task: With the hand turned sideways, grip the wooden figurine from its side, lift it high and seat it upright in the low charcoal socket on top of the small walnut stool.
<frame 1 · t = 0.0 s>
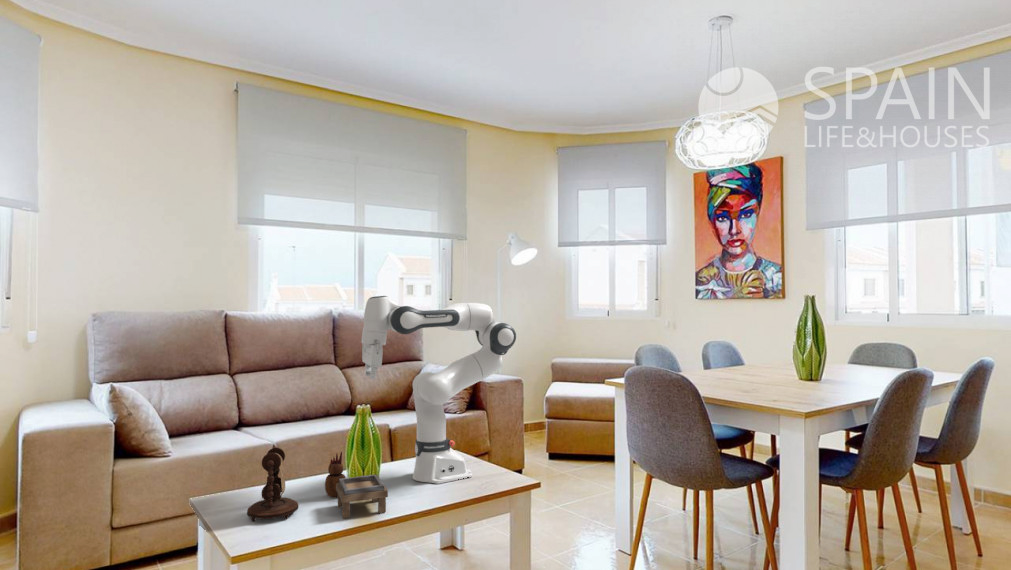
hand: (370, 377, 210), 39 cm above the table, tool pointing down, fingers open, 8 cm apart
wooden figurine: (335, 497, 196), on the table
dark brown tall figurine: (273, 515, 179), on the table
stool: (361, 509, 183), on the table
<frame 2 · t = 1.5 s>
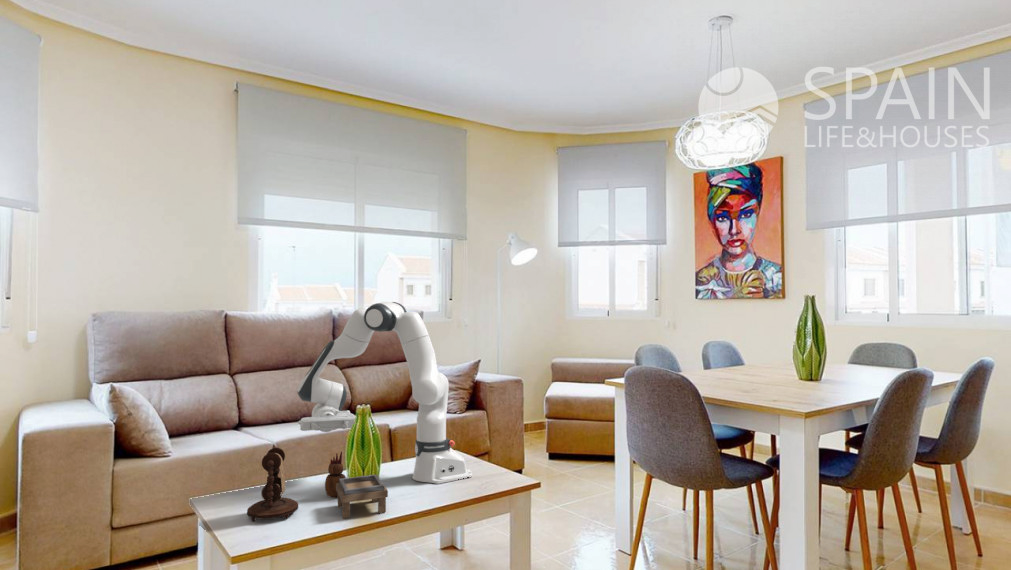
hand: (331, 427, 207), 21 cm above the table, tool horizontal, fingers open, 8 cm apart
nothing on the table moved.
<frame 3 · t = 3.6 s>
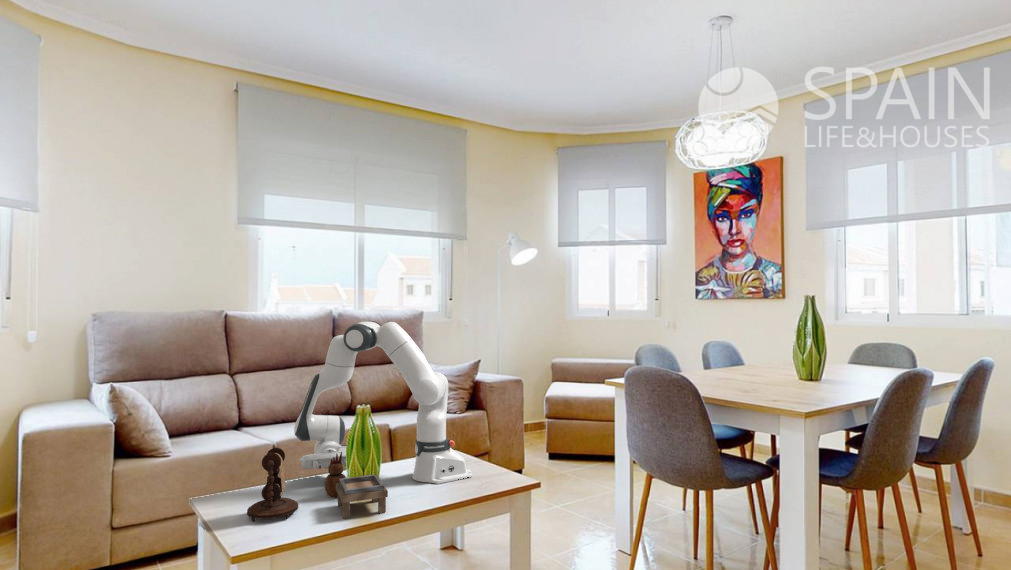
hand: (333, 464, 204), 8 cm above the table, tool horizontal, fingers open, 8 cm apart
nothing on the table moved.
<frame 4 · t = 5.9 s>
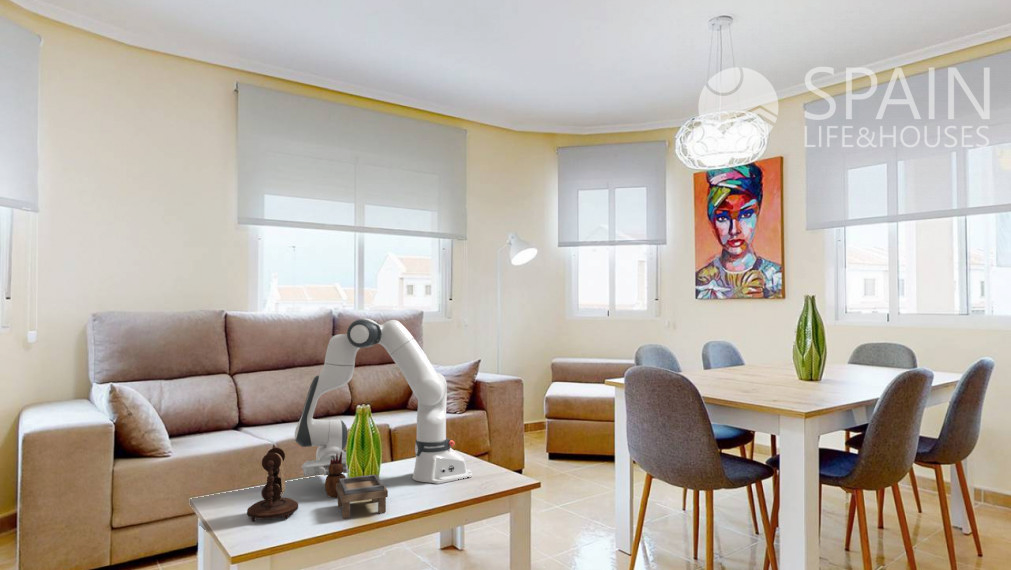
hand: (336, 471, 195), 9 cm above the table, tool horizontal, fingers closed on wooden figurine, 5 cm apart
wooden figurine: (335, 496, 196), on the table, touching gripper
everything else where it was.
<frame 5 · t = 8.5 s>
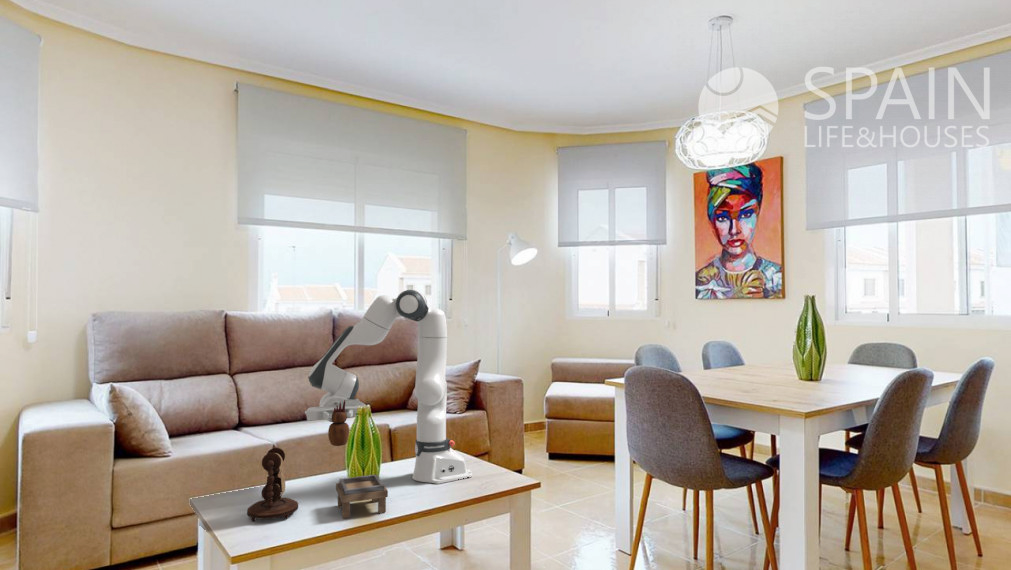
hand: (339, 415, 195), 28 cm above the table, tool horizontal, fingers closed on wooden figurine, 5 cm apart
wooden figurine: (338, 445, 195), point 17 cm above the table, touching gripper
everything else where it was.
when the fingers open (22 cm above the table, at t = 11.4 s): wooden figurine drops 5 cm, resting on stool.
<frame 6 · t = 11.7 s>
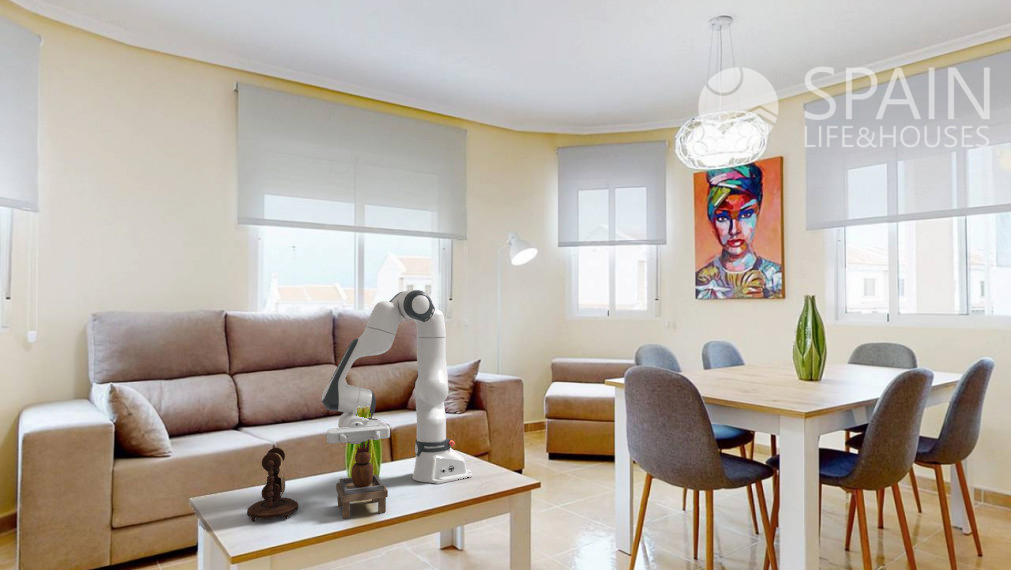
hand: (362, 438, 183), 22 cm above the table, tool horizontal, fingers open, 8 cm apart
wooden figurine: (362, 486, 184), point 7 cm above the table, touching stool
everything else where it was.
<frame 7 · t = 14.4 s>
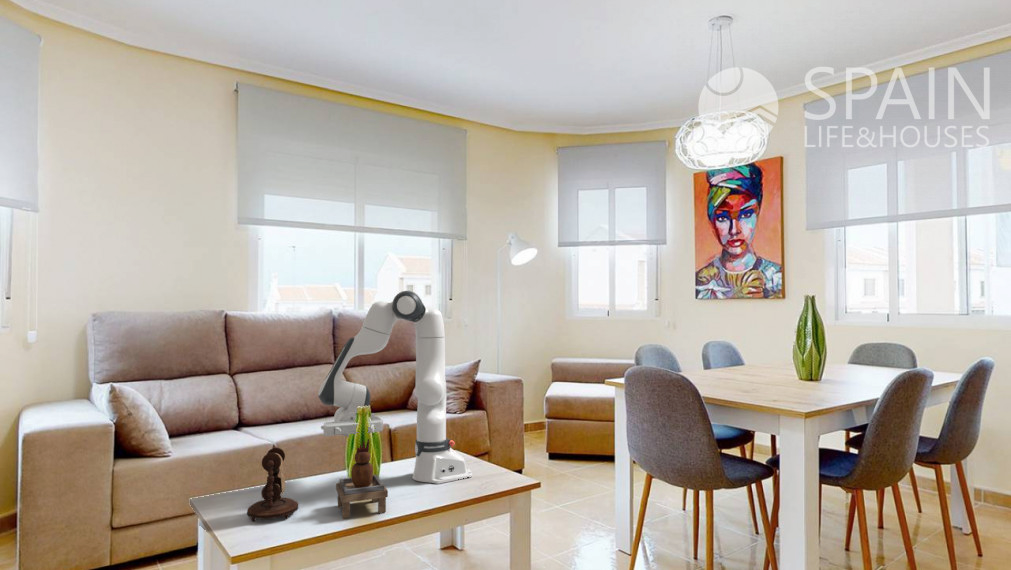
hand: (356, 431, 194), 23 cm above the table, tool horizontal, fingers open, 8 cm apart
nothing on the table moved.
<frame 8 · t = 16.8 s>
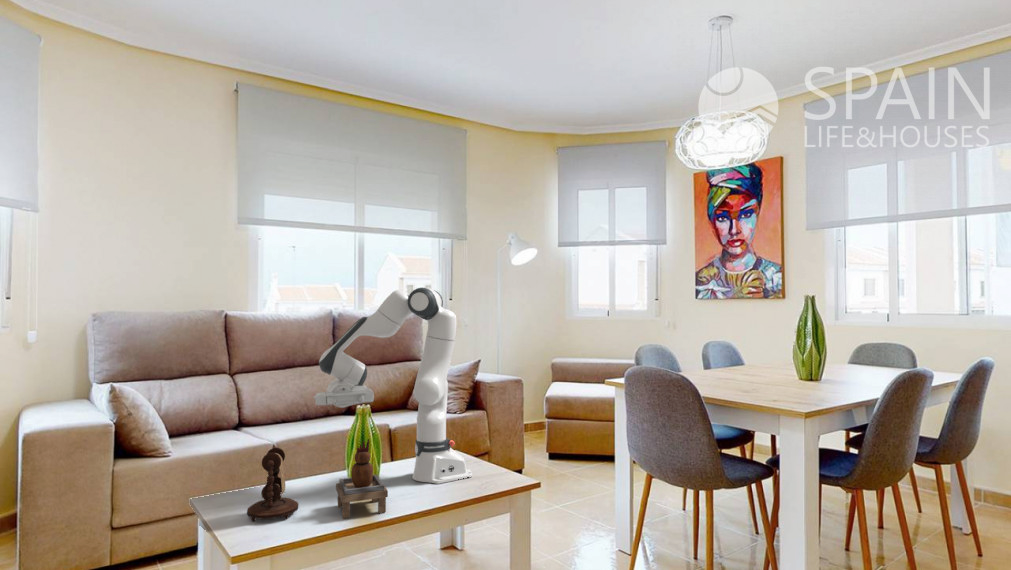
hand: (347, 400, 199), 32 cm above the table, tool horizontal, fingers open, 8 cm apart
nothing on the table moved.
at the end: wooden figurine 0.4 cm off-centre on the stool, point 6.8 cm above the stool's base; wooden figurine tilted 0°; the gripper is holding nothing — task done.
